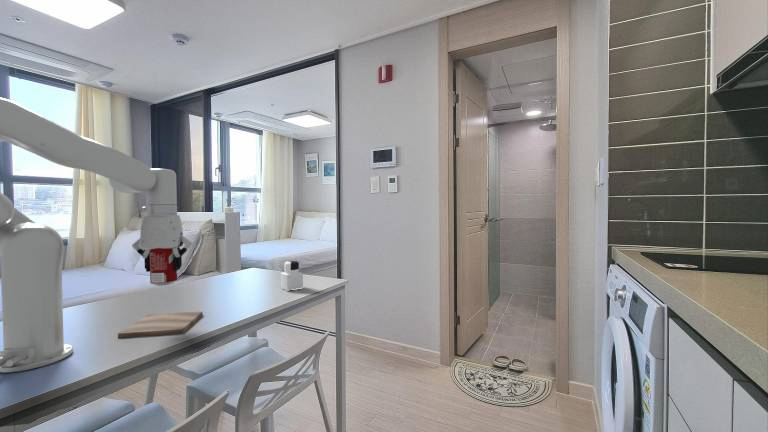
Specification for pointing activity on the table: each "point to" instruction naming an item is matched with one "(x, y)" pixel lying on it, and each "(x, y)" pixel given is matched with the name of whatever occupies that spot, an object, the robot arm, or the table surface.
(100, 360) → the table surface
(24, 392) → the table surface
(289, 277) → the white security camera
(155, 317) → the walnut board
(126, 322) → the table surface
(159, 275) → the soda can
